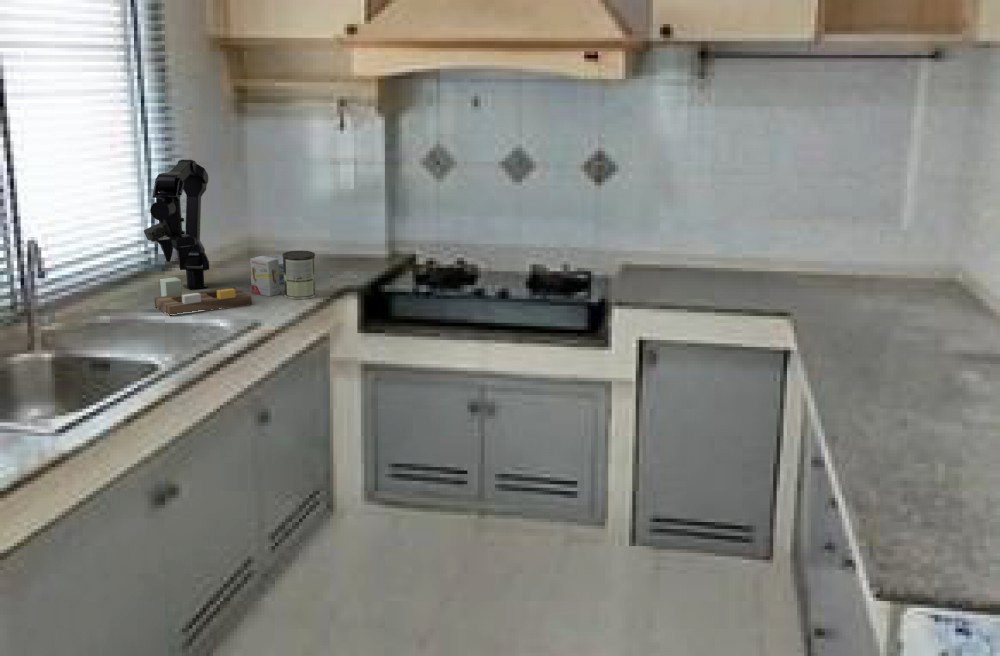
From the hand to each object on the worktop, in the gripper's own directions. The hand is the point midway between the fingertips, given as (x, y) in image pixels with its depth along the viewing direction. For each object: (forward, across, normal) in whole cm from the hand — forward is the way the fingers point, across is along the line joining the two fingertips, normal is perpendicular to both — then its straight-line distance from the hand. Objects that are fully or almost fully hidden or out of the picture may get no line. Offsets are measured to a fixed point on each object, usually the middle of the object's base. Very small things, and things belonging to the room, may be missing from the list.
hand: (175, 264), depth 309 cm
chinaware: (+12, -6, +38) cm, 40 cm away
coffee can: (+12, +17, +34) cm, 40 cm away
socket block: (+12, +10, +4) cm, 16 cm away
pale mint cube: (+12, -1, -1) cm, 12 cm away
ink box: (+12, +8, +27) cm, 31 cm away
